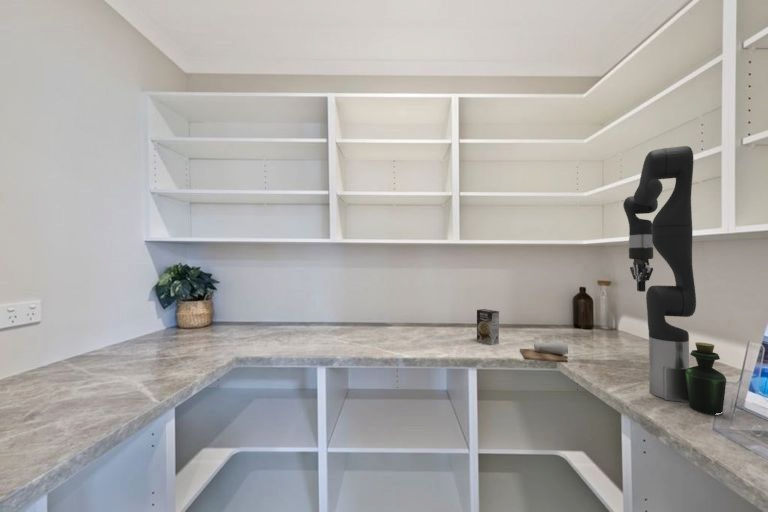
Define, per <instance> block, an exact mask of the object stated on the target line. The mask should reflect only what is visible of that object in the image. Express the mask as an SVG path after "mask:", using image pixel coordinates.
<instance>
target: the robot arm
mask: <svg viewBox="0 0 768 512" xmlns="http://www.w3.org/2000/svg"><path fill="white" fill-rule="evenodd" d="M694 160H695V159H694V152H693V150H692V148H691V146H689V145H685V146H683V145H682V146H673V147H672V146H671V147H666V148H665V147H664V148H657V149H654V150H653V149H652V150H651V151H649V152H648V153H647V155H646V156H645V158H644V161H643V166H642V168H641V169H642V170H641V174H640V179H639V184H638V187H637V188H636V189H635V192H634V194H633V196H627V197H626V198H625V199H624V201H623V210H624V212H625V215H626V218H627V220H628V221H627V222H628V226H629V227H628V229H629V233H628V234H629V236H628V258H629V260H633V261H632V262H633V263H632V266H630V268H629V269H630V274H631V275H632V277H633V280H635V282H636V291H637V292H643V293H645V292H646V295H645V296H646V297H645V298H646V299H645V303H646V313H647V327H648V366H649V367H648V376H649V377H648V383H649V393H650V394H651V395H654V396H656V397H659V398H662V399H663V400H666V401H671V402H673V401H675V402H684V403H689V398H688V390H687V382H686V374H685V371H686V370H687V369H688V368H690V334H689V332H688V331H687V330H685V329H684V328H680V327H677V326H675V325H672V324H670V323H668V322H667V321H666V317H679V318H689V317H692V316H693V315H694V314H695V312H696V307H697V295H696V285H695V279H694V270H693V219H692V218H693V215H692V188H693V174H694ZM668 179H675V184H674V188H673V190H672V193H671V195H670V196H669V198H668V199H667V201H666V202H665V203H664V204H663V206H662V207H661V208H660V209H659V211H658V212H657V213H656V214H655V216H654V218H653V220H649V219H644V218H639V217H638V216H637V215H640V214H641V215H642V214H646V215H647V214H652V213H655V211H656V210H657V209H658V205H659V204H658V203H659V202H658V198H660V197H659V196H660V195H661V194H662V191H663V183H662V182H661V181H660V180H668ZM654 248H655V250H656V251H657V252H658V254H659V255H660V256H661V257H662V258H663V259H664V261H665V262H666V263H667V264H668V266H669V268H670V269H671V270H672V274H673V276H674V280H675V285H651V286H649V287H648V289H647V291H646V283H647V282H648V281H650V278H651V276H652V273H653V271H654V267H650V260H653V259H654Z"/></svg>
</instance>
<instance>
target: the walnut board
mask: <svg viewBox="0 0 768 512" xmlns="http://www.w3.org/2000/svg"><path fill="white" fill-rule="evenodd" d="M519 351H520V353H521V355H522V354H523V355H522V356H524V357H523V359H524V360H530V361H533V360H534V361H543V362H544V361H546V362H557V363H558V362H560V363H569V361H568V359H567V358H566V357H565V356H564V355H559V354H554V353H549V352H545V351H540V352H536V351H535V349H534V348H533V349H531V348H519Z"/></svg>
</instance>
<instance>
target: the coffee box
mask: <svg viewBox="0 0 768 512" xmlns="http://www.w3.org/2000/svg"><path fill="white" fill-rule="evenodd" d="M499 327H500V311H498V310H492V309H486V308H483V309H482V308H481V309H476V342H477V343H481V344H485V345H490V346H495V345H498V344H500V328H499Z"/></svg>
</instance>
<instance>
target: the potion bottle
mask: <svg viewBox="0 0 768 512" xmlns="http://www.w3.org/2000/svg"><path fill="white" fill-rule="evenodd" d="M695 348H696V349H694V350H691V352H690V353H689V356H692V357H693V358H695V360H696V364H697V365H695V366H694V365H693V366H692V367H689V368H688V369H687V370H686V371H685V374H686V382H687V390H688V398H689V402H688V406H689V407H690V408H691V409H692V410H694V411H696V412H698V413H701V414H705V415H710V416H716V415H715V414H716V413H721V412H723V413H724V406H725V405H724V404H725V395H726V385H727V378H726V376H725V375H724V373H722V372H720V371H719V370H716V368H713V367H714V364H715V361H718V360H721V358H720V355H719V353H718V352H717V353H716V352H714V350H715V344H712V343H708V342H695Z"/></svg>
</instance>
